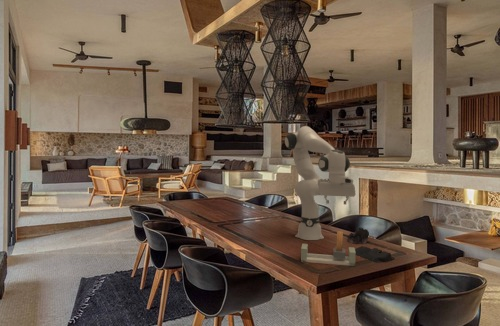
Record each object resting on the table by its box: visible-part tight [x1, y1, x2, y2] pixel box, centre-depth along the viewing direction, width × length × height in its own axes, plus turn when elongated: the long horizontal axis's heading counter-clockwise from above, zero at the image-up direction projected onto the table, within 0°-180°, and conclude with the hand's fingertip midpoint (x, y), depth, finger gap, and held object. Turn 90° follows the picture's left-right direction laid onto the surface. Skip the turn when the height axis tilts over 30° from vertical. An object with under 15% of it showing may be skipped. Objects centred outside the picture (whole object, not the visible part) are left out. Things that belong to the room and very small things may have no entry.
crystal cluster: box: [346, 227, 370, 245], centre depth 243 cm, size 13×14×10 cm
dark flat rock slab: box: [355, 245, 395, 264], centre depth 213 cm, size 15×22×5 cm
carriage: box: [332, 230, 346, 258], centre depth 200 cm, size 8×6×13 cm
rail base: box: [300, 243, 357, 267], centre depth 202 cm, size 10×28×7 cm, turn 78°
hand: (336, 204), depth 209 cm, fingers open, 8 cm apart
